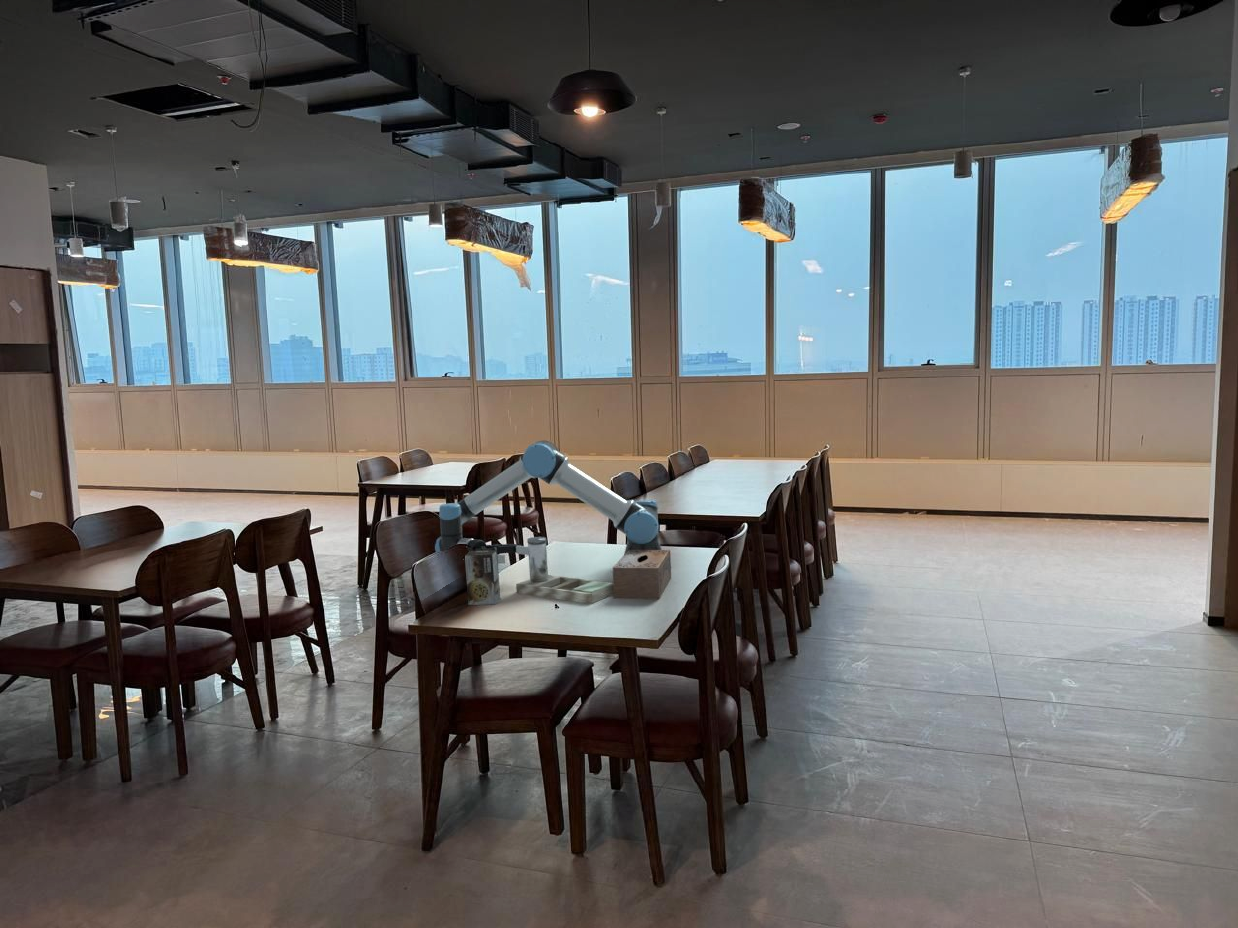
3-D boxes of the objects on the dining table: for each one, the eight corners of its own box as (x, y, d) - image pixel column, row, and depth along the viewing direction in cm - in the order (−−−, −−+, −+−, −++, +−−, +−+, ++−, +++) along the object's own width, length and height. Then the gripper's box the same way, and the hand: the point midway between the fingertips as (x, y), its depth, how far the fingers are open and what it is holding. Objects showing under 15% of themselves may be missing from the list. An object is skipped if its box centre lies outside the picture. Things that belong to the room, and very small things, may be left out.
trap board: (516, 592, 269) (515, 582, 268) (543, 582, 280) (543, 573, 280) (590, 603, 252) (589, 592, 252) (616, 592, 263) (615, 582, 263)
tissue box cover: (629, 578, 282) (628, 550, 281) (671, 578, 279) (670, 550, 278) (614, 599, 257) (612, 567, 256) (659, 599, 254) (658, 568, 253)
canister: (549, 577, 275) (547, 536, 273) (547, 582, 269) (544, 540, 267) (531, 578, 275) (528, 537, 274) (528, 582, 269) (526, 540, 267)
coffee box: (501, 599, 262) (498, 549, 260) (496, 604, 256) (492, 554, 254) (473, 599, 263) (469, 550, 261) (467, 605, 256) (464, 554, 255)
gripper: (497, 553, 299) (542, 558, 287) (446, 568, 278) (493, 574, 266) (495, 532, 298) (541, 537, 286) (445, 546, 277) (491, 551, 265)
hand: (518, 555), depth 276 cm, fingers open, 13 cm apart
